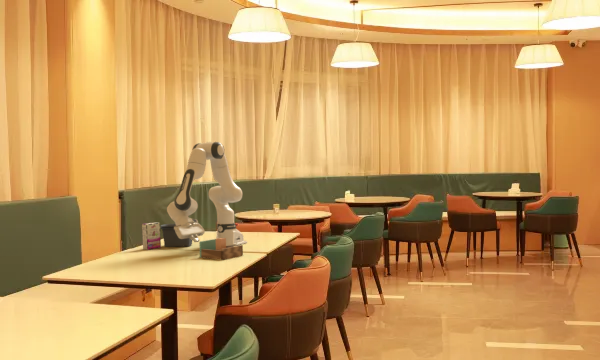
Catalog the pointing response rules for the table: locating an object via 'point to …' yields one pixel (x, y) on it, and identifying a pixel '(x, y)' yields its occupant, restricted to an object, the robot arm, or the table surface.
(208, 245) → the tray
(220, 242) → the terracotta block
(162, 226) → the storage bin
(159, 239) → the candy bar box
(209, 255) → the dock
